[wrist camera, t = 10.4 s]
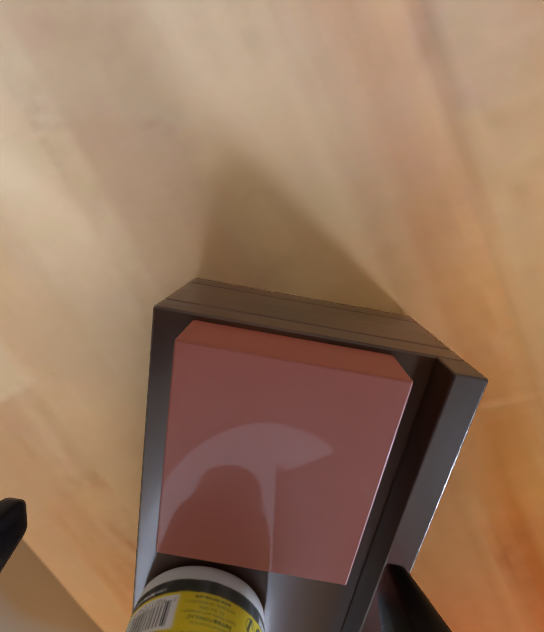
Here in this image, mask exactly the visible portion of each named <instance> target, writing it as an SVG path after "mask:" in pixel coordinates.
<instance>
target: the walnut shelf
mask: <svg viewBox="0 0 544 632" xmlns="http://www.w3.org/2000/svg"><path fill="white" fill-rule="evenodd" d="M193 320H198V321H203V322H209V323H214V324H220V325H226V326H231V327H237V328H242V329H248V330H254V331H259V332H265V333H271V334H276V335H282V336H287V337H293V338H299V339H304V340H310V341H315V342H321V343H327V344H332V345H338V346H343V347H349V348H355V349H360V350H366V351H371V352H377V353H383V354H388V355H393V356H394V357H395V359H396V360H397V361H398V363H399V364H400V365H401V367H402V368H403V369H404V371H405V372H406V373H407V374H408V376H409V377H410V378H411V380H412V381H413V385H412V388H411V391H410V394H409V397H408V400H407V403H406V406H405V409H404V412H403V415H402V418H401V421H400V424H399V427H398V430H397V433H396V436H395V439H394V442H393V445H392V448H391V451H390V454H389V457H388V460H387V463H386V466H385V469H384V472H383V475H382V478H381V481H380V484H379V487H378V490H377V493H376V496H375V499H374V502H373V505H372V508H371V511H370V514H369V517H368V520H367V523H366V526H365V529H364V532H363V535H362V538H361V541H360V544H359V547H358V550H357V553H356V556H355V559H354V562H353V565H352V568H351V571H350V574H349V577H348V580H347V583H346V585H342V584H337V583H331V582H325V581H320V580H314V579H308V578H302V577H297V576H291V575H285V574H279V573H274V572H268V571H262V570H257V569H251V568H245V567H239V566H234V565H228V564H222V563H216V562H211V561H205V560H199V559H194V558H188V557H182V556H176V555H171V554H165V553H159V552H156V539H157V528H158V517H159V506H160V495H161V484H162V473H163V462H164V451H165V440H166V429H167V419H168V408H169V397H170V386H171V375H172V364H173V353H174V342H175V339H176V338H177V337H178V336H179V335H180V334H181V333H182V332H183V330H184V329H185V328H186V327H187V326H188V325H189V324H190V323H191V322H192V321H193ZM487 383H488V379H487V378H486V377H484V376H483V375H482V374H481V373H479V372H478V371H477V370H476V369H474V368H473V367H472V366H471V365H470V364H468V363H467V362H465V361H464V360H463V359H462V358H460V357H459V356H458V355H457V354H455V353H454V352H453V351H451V350H450V349H449V348H448V347H447V346H446V345H444V344H443V343H442V342H441V341H439V340H438V339H437V338H436V337H435V336H433V335H432V334H431V333H430V332H428V331H427V330H426V329H425V328H423V327H422V326H421V325H420V324H418V322H416V321H415V320H414V319H413V318H411V317H410V316H405V315H400V314H394V313H389V312H383V311H378V310H372V309H366V308H361V307H355V306H350V305H344V304H338V303H333V302H327V301H322V300H316V299H310V298H305V297H299V296H294V295H288V294H283V293H277V292H271V291H266V290H260V289H255V288H249V287H243V286H238V285H232V284H227V283H221V282H215V281H210V280H204V279H199V278H195V279H194V280H192V281H191V282H190V283H188V284H187V285H185V286H184V287H182V288H181V289H179V290H177V291H176V292H174V293H173V294H171V295H170V296H168V297H167V298H166V299H165V300H163V301H161V302H159V303H158V304H156V305H155V306H154V308H153V322H152V337H151V351H150V366H149V380H148V395H147V409H146V423H145V438H144V452H143V467H142V481H141V496H140V510H139V525H138V539H137V553H136V568H135V582H134V597H133V611H134V608H135V606H136V604H137V601H138V599H139V597H140V595H141V593H142V591H143V590H144V588H145V587H146V586H147V585H148V583H149V582H150V581H152V580H153V579H154V578H155V577H157V576H158V575H160V574H162V573H164V572H166V571H168V570H171V569H174V568H177V567H183V566H206V567H212V568H216V569H220V570H223V571H226V572H228V573H231V574H233V575H235V576H237V577H238V578H240V579H241V580H243V581H244V582H245V583H247V584H248V585H249V586H250V587H251V588H252V589H253V591H254V592H255V593H256V595H257V597H258V598H259V600H260V602H261V605H262V607H263V611H264V617H265V632H381V626H380V618H379V610H378V601H377V586H378V583H379V580H380V578H381V575H382V572H383V569H384V567H385V565H386V564H387V563H391V564H397V565H401V566H403V567H404V568H405V569H406V570H407V571H408V572H409V574H410V572H411V570H412V567H413V565H414V563H415V560H416V558H417V555H418V553H419V550H420V548H421V545H422V543H423V540H424V538H425V535H426V533H427V531H428V528H429V526H430V523H431V521H432V518H433V516H434V513H435V511H436V508H437V506H438V503H439V501H440V499H441V496H442V494H443V491H444V489H445V486H446V484H447V481H448V479H449V476H450V474H451V471H452V469H453V467H454V464H455V462H456V459H457V457H458V454H459V452H460V449H461V447H462V444H463V442H464V439H465V437H466V435H467V432H468V430H469V427H470V425H471V422H472V420H473V417H474V415H475V412H476V410H477V407H478V405H479V403H480V400H481V398H482V395H483V393H484V390H485V388H486V385H487ZM133 611H132V613H133Z"/></svg>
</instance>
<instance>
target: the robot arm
mask: <svg viewBox="0 0 544 632" xmlns="http://www.w3.org/2000/svg"><path fill="white" fill-rule="evenodd" d="M26 529H27V512H26V502H25V501H24V500H22V499H16V498H5V499H3V500H1V501H0V572H1V571H2V569H3V568H4V566H5V564H6V563H7V561H8V559H9V558H10V556H11V555H12V553H13V552H14V550H15V549H16V547H17V545H18V544H19V542H20V541H21V539H22V537H23V536H24V534H25V531H26ZM377 601H378V610H379V618H380V626H381V632H452V631H451V630H450V629H449V627H448V626H447V625H446V623H445V622H444V620H443V619H442V618H441V616H440V615H439V614H438V612H437V611H436V609H435V608H434V607H433V605H432V604H431V603H430V601H429V600H428V598H427V597H426V596H425V594H424V593H423V592H422V590H421V589H420V588H419V586H418V585H417V583H416V582H415V581H414V579H413V578H412V577H411V575H410V574H409V572H408V571H407V570H406V569H405V568H404V567H403V566H401V565H397V564H391V563H387V564H386V565H385V567H384V569H383V572H382V575H381V578H380V580H379V583H378V586H377Z"/></svg>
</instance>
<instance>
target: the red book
mask: <svg viewBox="0 0 544 632" xmlns="http://www.w3.org/2000/svg"><path fill="white" fill-rule="evenodd" d="M412 385H413V381H412V380H411V378H410V377H409V376H408V374H407V373H406V372H405V371H404V369H403V368H402V367H401V365H400V364H399V363H398V361H397V360H396V359H395V357H394V356H393V355H388V354H383V353H377V352H371V351H366V350H360V349H355V348H349V347H343V346H338V345H332V344H327V343H321V342H315V341H310V340H304V339H299V338H293V337H287V336H282V335H276V334H271V333H265V332H259V331H254V330H248V329H242V328H237V327H231V326H226V325H220V324H214V323H209V322H203V321H198V320H193V321H192V322H191V323H190V324H189V325H188V326H187V327H186V328H185V329H184V330H183V332H182V333H181V334H180V335H179V336H178V337H177V338H176V339H175V342H174V353H173V364H172V375H171V386H170V397H169V408H168V419H167V429H166V440H165V451H164V462H163V473H162V484H161V495H160V506H159V517H158V528H157V539H156V552H159V553H165V554H171V555H176V556H182V557H188V558H194V559H199V560H205V561H211V562H216V563H222V564H228V565H234V566H239V567H245V568H251V569H257V570H262V571H268V572H274V573H279V574H285V575H291V576H297V577H302V578H308V579H314V580H320V581H325V582H331V583H337V584H342V585H346V583H347V580H348V577H349V574H350V571H351V568H352V565H353V562H354V559H355V556H356V553H357V550H358V547H359V544H360V541H361V538H362V535H363V532H364V529H365V526H366V523H367V520H368V517H369V514H370V511H371V508H372V505H373V502H374V499H375V496H376V493H377V490H378V487H379V484H380V481H381V478H382V475H383V472H384V469H385V466H386V463H387V460H388V457H389V454H390V451H391V448H392V445H393V442H394V439H395V436H396V433H397V430H398V427H399V424H400V421H401V418H402V415H403V412H404V409H405V406H406V403H407V400H408V397H409V394H410V391H411V388H412Z"/></svg>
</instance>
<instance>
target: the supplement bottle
mask: <svg viewBox="0 0 544 632" xmlns="http://www.w3.org/2000/svg"><path fill="white" fill-rule="evenodd" d="M125 632H265V617H264V611H263V607H262V605H261V602H260V600H259V598H258V597H257V595H256V593H255V592H254V591H253V589H252V588H251V587H250V586H249V585H248V584H247V583H245V582H244V581H243V580H241V579H240V578H238V577H237V576H235V575H233V574H231V573H228V572H226V571H223V570H220V569H216V568H212V567H206V566H183V567H177V568H174V569H171V570H168V571H166V572H164V573H162V574H160V575H158V576H157V577H155V578H154V579H153V580H152V581H150V582H149V583H148V585H147V586H146V587H145V588H144V590H143V591H142V593H141V595H140V597H139V599H138V601H137V604H136V606H135V608H134V611H133V613H132V616H131V618H130V621H129V623H128V626H127V629H126V631H125Z"/></svg>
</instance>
